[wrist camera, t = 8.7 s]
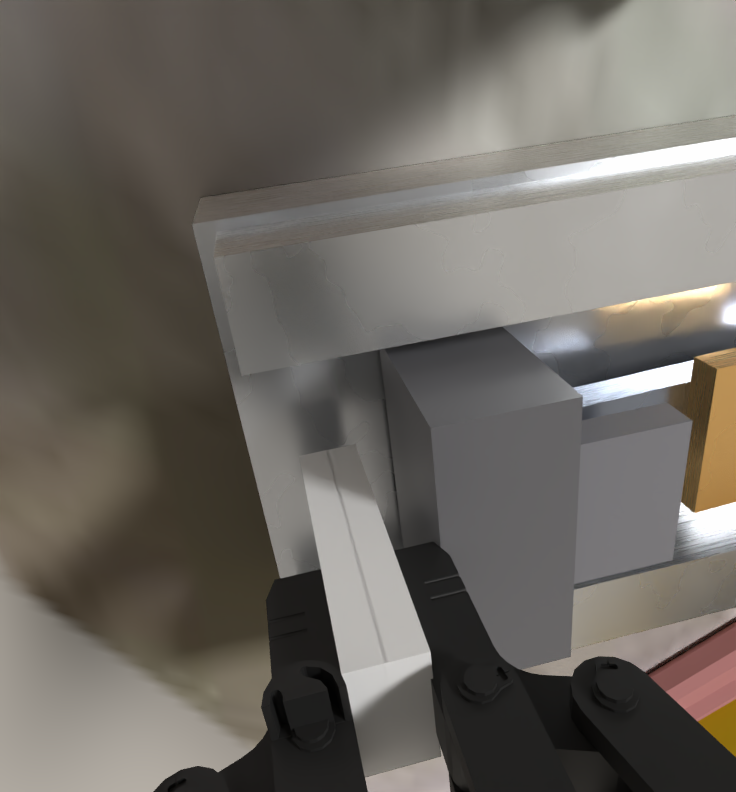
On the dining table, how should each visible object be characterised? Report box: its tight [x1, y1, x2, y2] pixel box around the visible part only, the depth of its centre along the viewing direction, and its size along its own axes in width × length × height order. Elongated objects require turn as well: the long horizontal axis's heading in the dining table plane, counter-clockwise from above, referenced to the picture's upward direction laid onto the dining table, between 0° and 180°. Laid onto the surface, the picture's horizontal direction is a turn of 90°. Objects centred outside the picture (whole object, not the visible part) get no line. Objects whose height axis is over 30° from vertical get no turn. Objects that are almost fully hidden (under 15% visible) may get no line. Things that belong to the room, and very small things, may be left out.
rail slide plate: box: [192, 115, 736, 650], centre depth 19 cm, size 14×26×7 cm, turn 97°
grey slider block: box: [380, 326, 693, 670], centre depth 15 cm, size 7×6×5 cm
